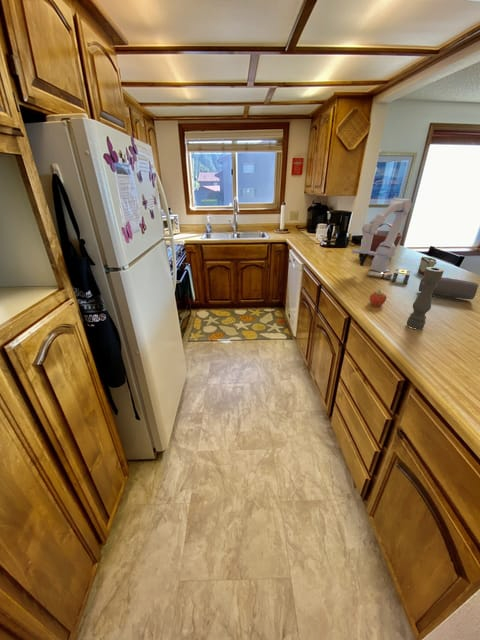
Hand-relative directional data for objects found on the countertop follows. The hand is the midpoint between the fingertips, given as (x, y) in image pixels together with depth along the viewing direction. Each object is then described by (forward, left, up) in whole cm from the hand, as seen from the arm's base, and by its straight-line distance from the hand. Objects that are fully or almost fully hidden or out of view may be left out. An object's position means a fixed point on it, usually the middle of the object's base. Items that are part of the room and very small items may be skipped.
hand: (361, 265), depth 167 cm
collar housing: (+20, +12, -6) cm, 24 cm away
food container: (+21, +36, -6) cm, 42 cm away
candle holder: (+58, -34, -6) cm, 67 cm away
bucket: (-20, +46, -6) cm, 51 cm away
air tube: (+10, +6, -6) cm, 13 cm away
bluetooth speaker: (+46, +9, -6) cm, 47 cm away
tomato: (+36, -30, -6) cm, 47 cm away
